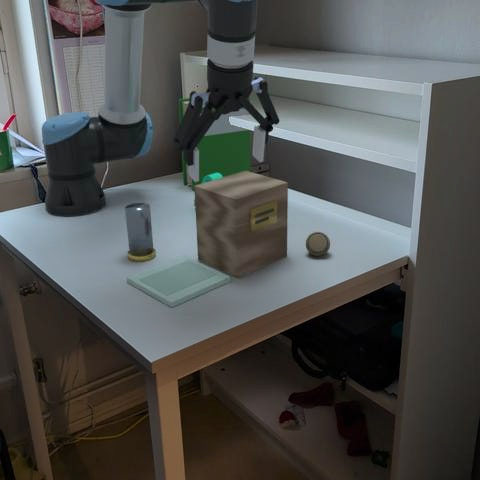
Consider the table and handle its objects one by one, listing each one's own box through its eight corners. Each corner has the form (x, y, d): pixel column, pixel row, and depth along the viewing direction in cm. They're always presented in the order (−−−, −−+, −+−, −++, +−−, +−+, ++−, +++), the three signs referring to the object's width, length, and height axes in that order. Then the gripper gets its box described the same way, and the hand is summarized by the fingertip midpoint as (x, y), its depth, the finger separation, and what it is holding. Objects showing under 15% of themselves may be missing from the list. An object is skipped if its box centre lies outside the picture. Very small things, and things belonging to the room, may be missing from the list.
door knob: (300, 254, 126) (301, 231, 124) (318, 248, 129) (319, 226, 127) (316, 262, 123) (317, 239, 121) (334, 255, 125) (335, 233, 123)
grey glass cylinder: (122, 256, 127) (117, 207, 123) (145, 248, 131) (141, 200, 127) (138, 264, 123) (133, 213, 119) (161, 255, 127) (157, 206, 123)
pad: (127, 282, 116) (126, 277, 116) (184, 259, 125) (184, 255, 124) (171, 307, 107) (171, 302, 106) (230, 281, 115) (230, 276, 115)
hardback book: (193, 191, 165) (189, 103, 156) (183, 184, 172) (178, 99, 162) (250, 181, 173) (249, 96, 163) (238, 175, 179) (237, 92, 169)
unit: (198, 259, 125) (194, 185, 118) (246, 240, 133) (245, 170, 127) (239, 278, 116) (238, 200, 110) (289, 257, 125) (289, 183, 119)
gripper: (170, 85, 90) (174, 198, 104) (307, 53, 100) (293, 160, 114) (149, 64, 95) (155, 175, 109) (282, 36, 105) (272, 141, 119)
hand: (226, 167), depth 111 cm, fingers open, 13 cm apart
